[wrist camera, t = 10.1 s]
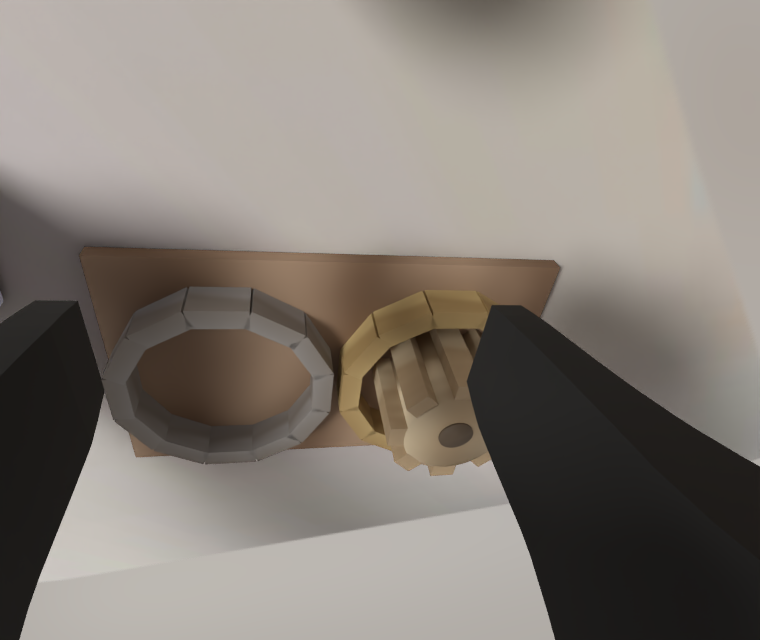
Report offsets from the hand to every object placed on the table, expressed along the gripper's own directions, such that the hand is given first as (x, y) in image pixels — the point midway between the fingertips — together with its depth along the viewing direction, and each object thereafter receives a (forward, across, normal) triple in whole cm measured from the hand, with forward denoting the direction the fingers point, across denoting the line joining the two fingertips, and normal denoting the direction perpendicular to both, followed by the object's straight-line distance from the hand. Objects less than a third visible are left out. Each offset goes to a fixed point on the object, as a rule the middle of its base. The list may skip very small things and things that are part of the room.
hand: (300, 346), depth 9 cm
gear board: (+9, -2, +9) cm, 13 cm away
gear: (+9, -6, +9) cm, 14 cm away
